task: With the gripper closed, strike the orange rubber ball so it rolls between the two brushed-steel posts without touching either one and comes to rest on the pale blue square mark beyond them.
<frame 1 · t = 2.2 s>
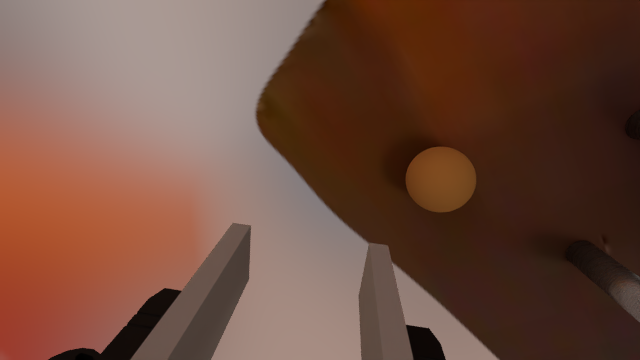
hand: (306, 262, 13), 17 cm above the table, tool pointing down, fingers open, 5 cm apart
ball: (439, 179, 25), on the table
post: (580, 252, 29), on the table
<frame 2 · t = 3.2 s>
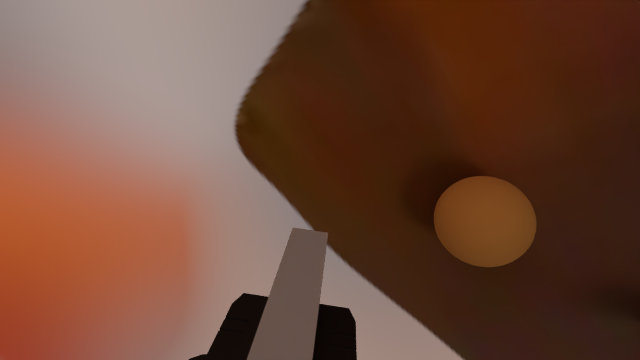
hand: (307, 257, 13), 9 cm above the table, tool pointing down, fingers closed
ball: (481, 220, 19), on the table
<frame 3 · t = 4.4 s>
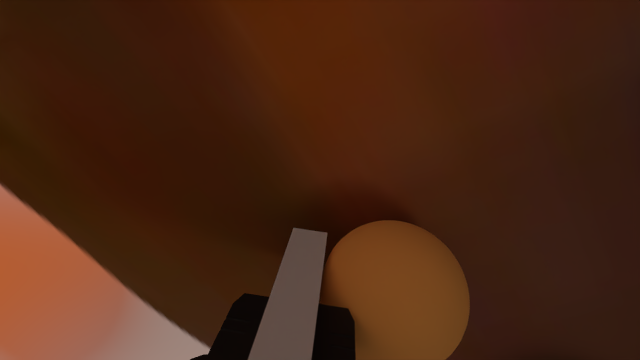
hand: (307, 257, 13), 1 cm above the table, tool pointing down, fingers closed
ball: (390, 291, 12), on the table
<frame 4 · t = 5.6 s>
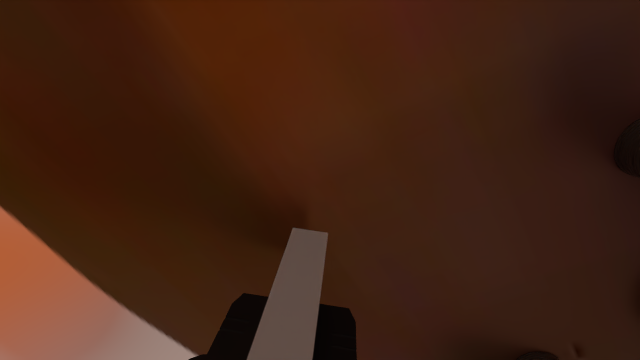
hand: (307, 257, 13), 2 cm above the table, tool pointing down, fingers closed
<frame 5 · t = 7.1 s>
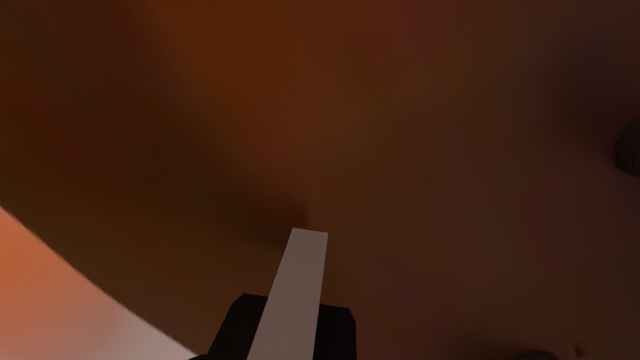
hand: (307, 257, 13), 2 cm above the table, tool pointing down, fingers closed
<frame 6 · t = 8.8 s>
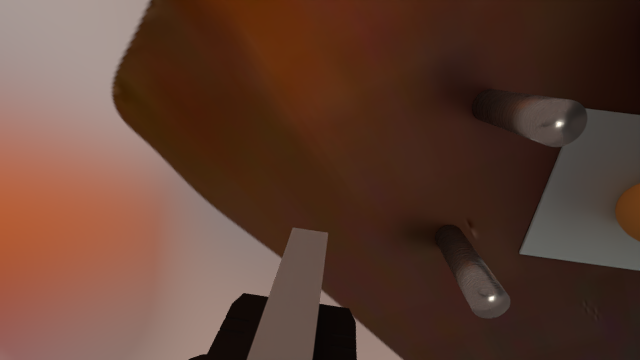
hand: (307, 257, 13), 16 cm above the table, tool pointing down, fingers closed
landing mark: (625, 197, 27), on the table
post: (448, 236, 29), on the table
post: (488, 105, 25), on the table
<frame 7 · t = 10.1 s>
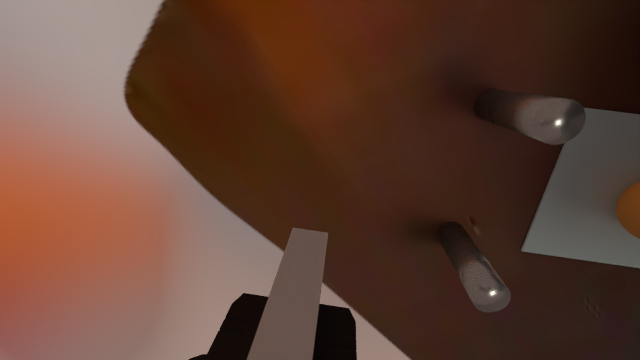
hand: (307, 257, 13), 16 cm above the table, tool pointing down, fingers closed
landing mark: (626, 195, 27), on the table
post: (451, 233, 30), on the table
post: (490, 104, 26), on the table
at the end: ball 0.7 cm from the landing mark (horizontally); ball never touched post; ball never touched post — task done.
